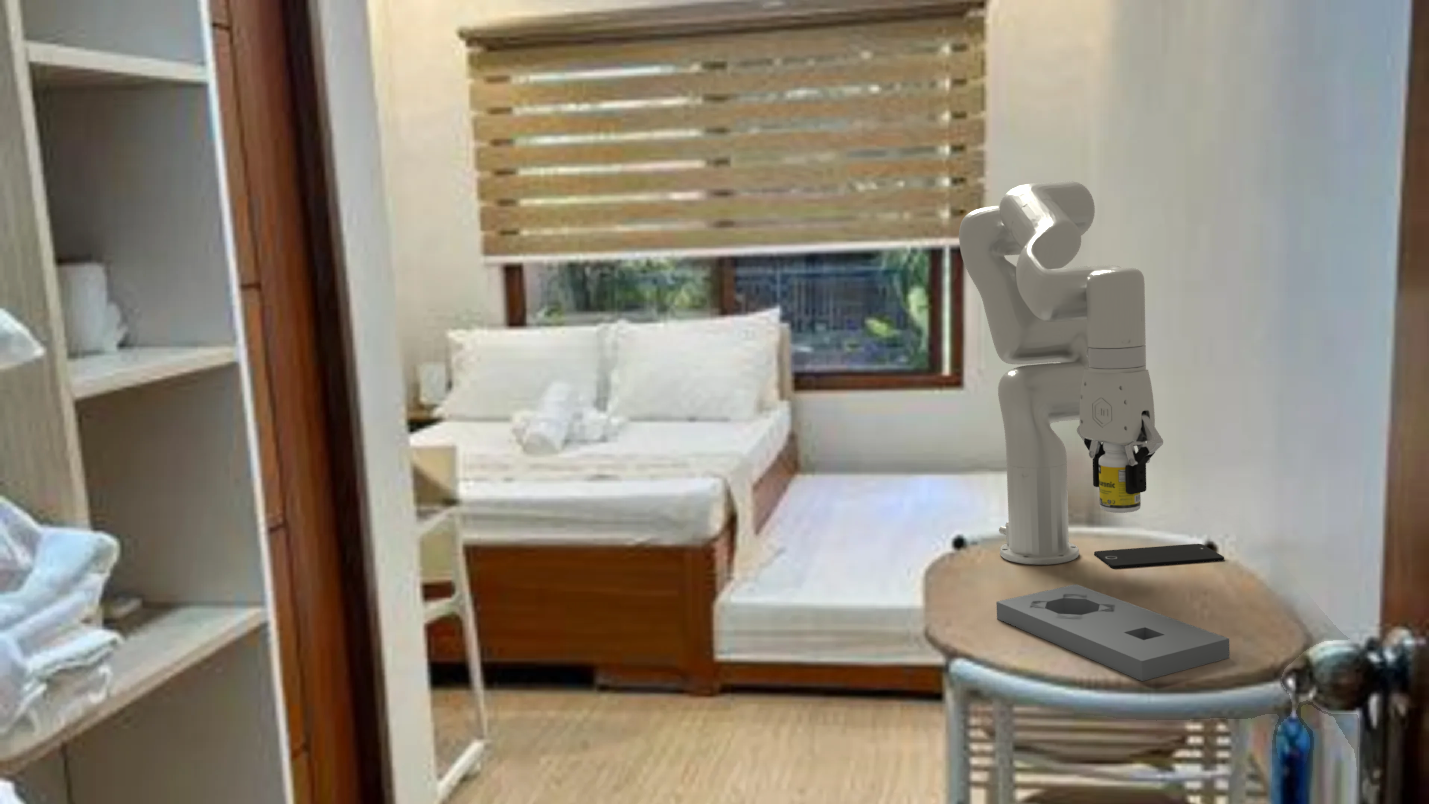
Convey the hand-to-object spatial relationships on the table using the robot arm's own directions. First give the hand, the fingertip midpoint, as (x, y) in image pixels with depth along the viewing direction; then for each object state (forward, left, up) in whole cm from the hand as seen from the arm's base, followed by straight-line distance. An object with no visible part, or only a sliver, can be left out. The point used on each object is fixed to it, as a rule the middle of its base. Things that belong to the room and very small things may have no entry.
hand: (1119, 487), depth 166 cm
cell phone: (-17, +23, -18) cm, 33 cm away
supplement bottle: (0, 0, -3) cm, 3 cm away
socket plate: (+7, -9, -18) cm, 21 cm away
